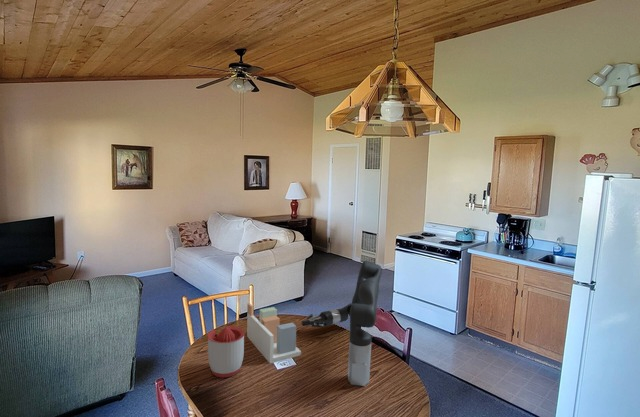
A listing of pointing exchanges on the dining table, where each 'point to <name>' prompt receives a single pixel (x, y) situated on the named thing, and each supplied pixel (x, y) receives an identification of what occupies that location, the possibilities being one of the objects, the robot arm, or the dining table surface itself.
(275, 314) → the sage block
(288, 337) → the slate block
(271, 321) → the terracotta block
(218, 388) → the dining table surface
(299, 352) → the rack
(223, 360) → the citrus juicer
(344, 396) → the dining table surface
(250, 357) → the dining table surface
